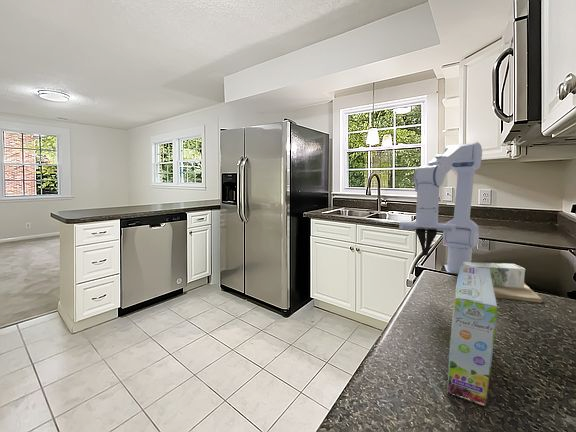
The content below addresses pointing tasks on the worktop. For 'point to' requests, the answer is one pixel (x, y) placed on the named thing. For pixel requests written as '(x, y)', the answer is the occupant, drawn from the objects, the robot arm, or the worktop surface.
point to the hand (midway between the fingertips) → (425, 254)
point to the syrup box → (502, 273)
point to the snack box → (472, 334)
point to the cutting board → (517, 293)
